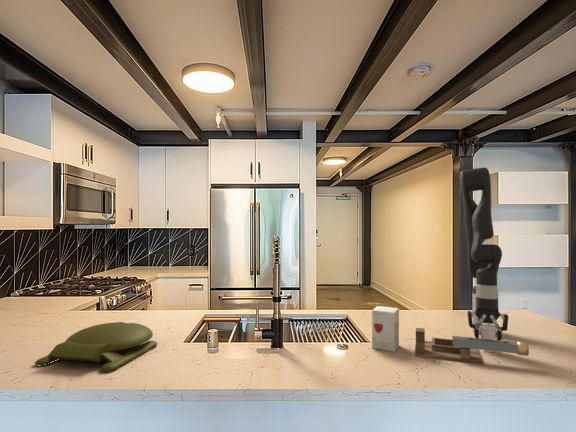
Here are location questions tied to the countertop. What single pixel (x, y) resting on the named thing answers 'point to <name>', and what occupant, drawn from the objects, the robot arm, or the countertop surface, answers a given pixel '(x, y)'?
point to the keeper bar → (491, 345)
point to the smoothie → (487, 332)
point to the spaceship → (103, 345)
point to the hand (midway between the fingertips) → (487, 339)
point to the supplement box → (385, 328)
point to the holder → (443, 349)
